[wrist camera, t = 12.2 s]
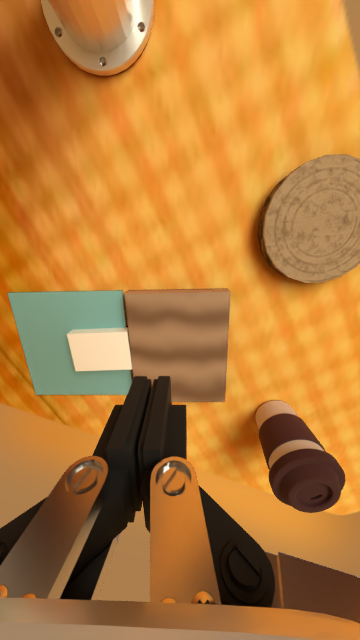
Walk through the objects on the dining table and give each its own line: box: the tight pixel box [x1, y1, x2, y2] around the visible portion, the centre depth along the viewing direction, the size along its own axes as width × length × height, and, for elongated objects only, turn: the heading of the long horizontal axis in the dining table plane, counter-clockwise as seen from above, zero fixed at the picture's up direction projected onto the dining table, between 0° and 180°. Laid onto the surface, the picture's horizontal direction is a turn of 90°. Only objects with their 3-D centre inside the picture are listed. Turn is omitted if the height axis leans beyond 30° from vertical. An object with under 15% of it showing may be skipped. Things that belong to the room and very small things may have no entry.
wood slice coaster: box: [258, 154, 360, 283], centre depth 31 cm, size 16×16×3 cm
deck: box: [125, 288, 230, 402], centre depth 38 cm, size 20×16×2 cm
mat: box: [8, 290, 132, 395], centre depth 40 cm, size 20×19×1 cm
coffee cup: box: [255, 400, 345, 513], centre depth 37 cm, size 10×10×15 cm
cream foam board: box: [67, 327, 133, 371], centre depth 39 cm, size 7×10×2 cm
